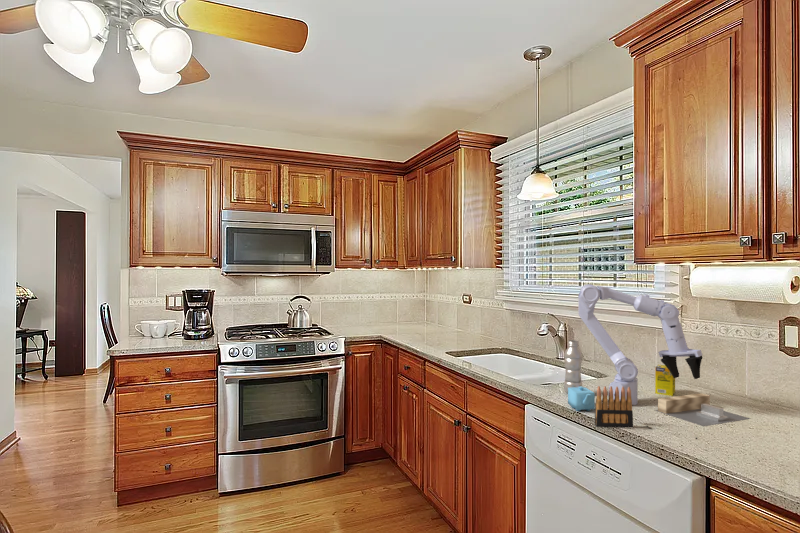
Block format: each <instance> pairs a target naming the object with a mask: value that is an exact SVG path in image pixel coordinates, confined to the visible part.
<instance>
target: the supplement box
mask: <svg viewBox="0 0 800 533" xmlns="http://www.w3.org/2000/svg"><path fill="white" fill-rule="evenodd" d="M654 368H655V370H654V371H655V372H654V373H655V374H654V375H655V376H654V377H655V379H654V381H655V382H654V383H655V385H654V388H655V390H654V391H655V393H654V394H657V395H662V396H668V397H669V396H670V397H674V395H675V394H676V378H673V376H672V374H671V373H670V371H669V369H668V368H667V367H666V366H665V365H664V364H657V365H656V366H655V367H654Z"/></svg>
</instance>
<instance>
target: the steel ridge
mask: <svg viewBox="0 0 800 533" xmlns="http://www.w3.org/2000/svg"><path fill="white" fill-rule="evenodd" d="M724 411H725V410H724V408H722V407H720V406H715V405H712V404H710V405H709V404H701V411H699V412H697V415H698V416H701V417H705V418H708V419H711V420H714V421H718V422H719V421H725V420H728V417H727V416H724V415H723V412H724Z"/></svg>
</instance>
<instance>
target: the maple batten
mask: <svg viewBox="0 0 800 533" xmlns="http://www.w3.org/2000/svg"><path fill="white" fill-rule="evenodd" d="M710 399H711V395H709V394H706V393H701V392H700V393H692V394H684V395H677V396H670V397H669V396H668V397H662V398H658V399H657V410H658V411H660V412H663V413H662V414H664V413H666V414H665V415H667V413H674V412H681V411H688V410H695V409H701V404H709V405H711V403H710V402H711V400H710ZM660 412H659V413H660Z"/></svg>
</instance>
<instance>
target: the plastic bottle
mask: <svg viewBox="0 0 800 533" xmlns="http://www.w3.org/2000/svg"><path fill="white" fill-rule="evenodd" d="M563 358H564V366H565V367H564V368H565V376H564V382H563V389H564V391H565V393H566V394H568V388H572V387H579V386H582V387H584V386H583V383H582V361H583V354H582V352H581V350H580V349H579V340H574V339H570V340H568V341H567V348H566V349H565V351H564V353H563Z"/></svg>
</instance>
